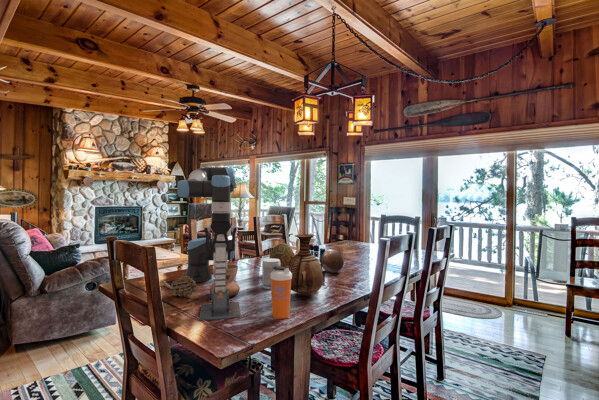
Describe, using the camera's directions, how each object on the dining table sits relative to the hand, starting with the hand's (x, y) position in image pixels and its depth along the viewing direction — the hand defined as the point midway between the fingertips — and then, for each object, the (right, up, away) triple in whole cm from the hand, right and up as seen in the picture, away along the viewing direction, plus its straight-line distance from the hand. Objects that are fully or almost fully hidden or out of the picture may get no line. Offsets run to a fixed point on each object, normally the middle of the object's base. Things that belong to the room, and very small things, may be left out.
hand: (220, 267), depth 137 cm
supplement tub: (+18, -18, +36) cm, 45 cm away
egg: (+23, -18, +62) cm, 68 cm away
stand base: (0, -19, 0) cm, 19 cm away
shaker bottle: (+25, -19, -3) cm, 32 cm away
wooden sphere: (+54, -18, +71) cm, 91 cm away
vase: (+35, -19, +23) cm, 46 cm away
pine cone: (-26, -18, +21) cm, 38 cm away
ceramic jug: (-3, -18, +24) cm, 30 cm away
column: (0, -10, 0) cm, 10 cm away
